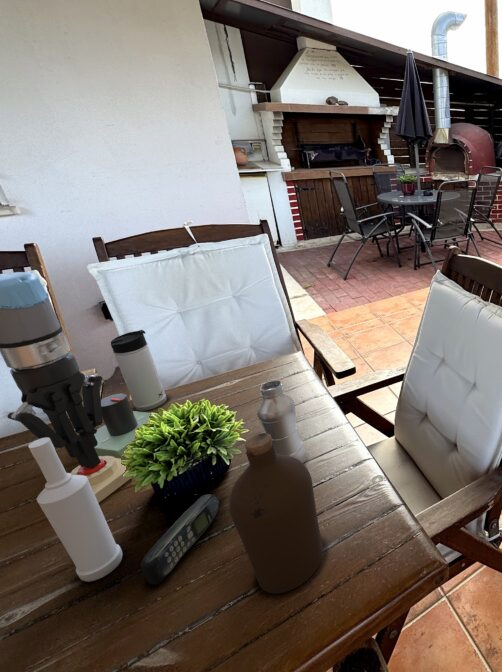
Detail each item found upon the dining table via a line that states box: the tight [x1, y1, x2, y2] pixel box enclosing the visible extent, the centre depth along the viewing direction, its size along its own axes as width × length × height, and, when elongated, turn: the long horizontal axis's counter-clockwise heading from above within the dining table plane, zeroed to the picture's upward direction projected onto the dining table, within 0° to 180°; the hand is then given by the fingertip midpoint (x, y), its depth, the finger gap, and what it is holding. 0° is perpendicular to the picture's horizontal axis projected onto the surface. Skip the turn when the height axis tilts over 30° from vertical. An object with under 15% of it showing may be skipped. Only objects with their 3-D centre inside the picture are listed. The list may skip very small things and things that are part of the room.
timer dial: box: [101, 393, 138, 436], centre depth 90 cm, size 5×5×8 cm
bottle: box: [28, 437, 123, 582], centre depth 60 cm, size 5×5×25 cm
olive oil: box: [228, 432, 324, 595], centre depth 60 cm, size 11×11×25 cm
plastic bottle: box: [256, 379, 307, 464], centre depth 81 cm, size 6×7×20 cm
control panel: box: [94, 410, 152, 459], centre depth 92 cm, size 12×12×3 cm
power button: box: [78, 459, 105, 476], centre depth 79 cm, size 4×4×2 cm
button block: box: [70, 456, 133, 504], centre depth 79 cm, size 10×9×4 cm
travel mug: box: [110, 329, 168, 412], centre depth 101 cm, size 6×7×20 cm
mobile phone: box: [140, 493, 220, 585], centre depth 68 cm, size 5×3×15 cm
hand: (91, 464), depth 78 cm, fingers closed
